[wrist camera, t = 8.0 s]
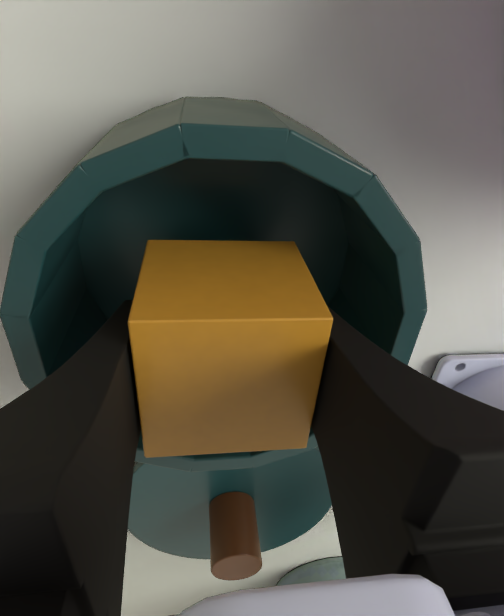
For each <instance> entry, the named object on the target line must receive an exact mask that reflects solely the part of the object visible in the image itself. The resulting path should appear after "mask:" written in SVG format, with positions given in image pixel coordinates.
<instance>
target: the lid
mask: <svg viewBox="0 0 504 616" xmlns="http://www.w3.org/2000/svg"><path fill="white" fill-rule="evenodd" d="M331 505H332V502H331V498H330V493H329V488H328V484H327V480H326V475H325V471H324V467H323V462H322V458H321V454H320V451H319V447H318V446H317V447H316V448H313V449H312V450H310V451H306V452H303V453H300V454H297V455H294V456H291V457H288V458H284V459H281V460H278V461H275V462H272V463H269V464H265V465H262V466H259V467H256V468H254V467H253V468H246V469H230V470H215V471H199V472H191V471H189V472H188V471H182V470H177V469H172V468H166V467H161V466H156V465H150V464H145V463H140V462H138V463H137V464H136V465H135V466H134V469H133V479H132V489H131V498H130V509H129V519H128V529H129V531H130V532H131V533H132V534H133V535H134V536H135V537H136V538H138V539H139V540H140V541H142V542H143V543H145V544H147V545H148V546H150V547H152V548H155V549H157V550H159V551H162V552H165V553H168V554H172V555H176V556H181V557H187V558H196V559H211V572H212V574H213V575H214V576H215V577H216V578H219V579H222V580H240V579H244V578H248V577H250V576H252V575H254V574H256V573H257V572H258V571H259V570H260V569H261V567H262V558H261V552H264V551H267V550H270V549H273V548H276V547H279V546H281V545H283V544H286V543H288V542H290V541H292V540H294V539H296V538H297V537H299V536H301V535H302V534H304V533H305V532H307V531H308V530H310V529H311V528H312V527H313V526H315V525H316V524H317V523H318V522H319V521H320V520H321V519H322V518H323V517H324V515H325V514H326V513H327V512H328V510H329V509H330V507H331Z"/></svg>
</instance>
